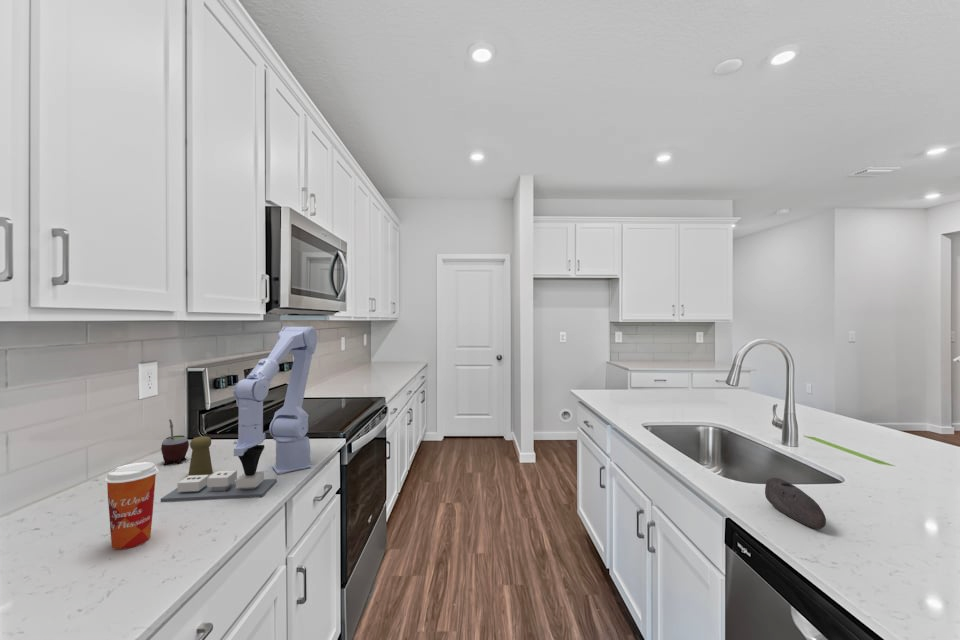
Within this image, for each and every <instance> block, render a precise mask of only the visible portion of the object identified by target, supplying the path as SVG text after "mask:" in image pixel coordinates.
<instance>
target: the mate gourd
mask: <svg viewBox="0 0 960 640" xmlns="http://www.w3.org/2000/svg"><path fill="white" fill-rule="evenodd" d="M168 421H169V429H170V436H168V437H166V438H164V440H163V441H162V442H161V445H160V446H161V448H160V450H161V455H162V459H163V461H164V463H163V466H169V465H172V464H176V463H177V465H181V464H183V461H186V460H187V458H186V455H187V453H188V451H189V447H190V443H189V439H188V438H187V437H186V435H184V434H183V435H181V434H179V435H174V424H173V422H172V419H171V418H170V419H168Z"/></svg>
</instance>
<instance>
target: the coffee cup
mask: <svg viewBox="0 0 960 640" xmlns="http://www.w3.org/2000/svg"><path fill="white" fill-rule="evenodd" d="M159 471H160V470H159V469H158V468H157V466H156V465H155V463H153V462H151V461H149V462H147V461H145V462H144V461H143V462H135V463H134V462H133V463H129V464H125V465H120V466H117V467H115V468H113V469H112V470H111V471H109V472H108V473H107V476H106V478H105V479H104V482H105V483H107V484H106V485H107V488H106V489H107V501H108V502H107V504H108V515H109V516H108V517H109V529H110V531H109V532H110V541H111V543H110V544H111V547H112V549H113V550H116V551H117V550H121V551H122V550H129V549H131V548H135V547H138V546H141V545H143V544H144V543H146V542H147V541H149V540H150V538H151V533H152V525H153V513H154V503H155V502H154V501H155V487H156V475H157V474H158V473H159Z"/></svg>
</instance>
